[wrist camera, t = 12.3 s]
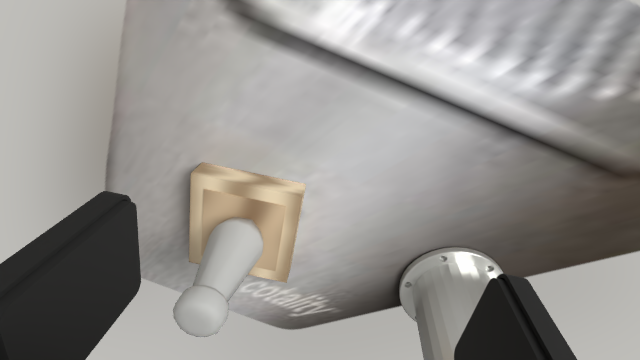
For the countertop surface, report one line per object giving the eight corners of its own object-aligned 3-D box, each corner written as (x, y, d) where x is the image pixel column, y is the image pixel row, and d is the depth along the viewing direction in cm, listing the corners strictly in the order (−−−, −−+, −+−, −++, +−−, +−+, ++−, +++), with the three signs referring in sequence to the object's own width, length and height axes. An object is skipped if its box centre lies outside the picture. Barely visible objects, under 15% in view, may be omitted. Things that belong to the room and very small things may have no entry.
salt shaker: (252, 261, 42) (210, 359, 30) (209, 236, 41) (148, 327, 29) (277, 227, 39) (242, 320, 28) (232, 200, 38) (176, 284, 27)
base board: (305, 184, 40) (301, 197, 37) (290, 266, 45) (286, 283, 43) (202, 162, 40) (190, 174, 37) (199, 247, 46) (188, 262, 43)
